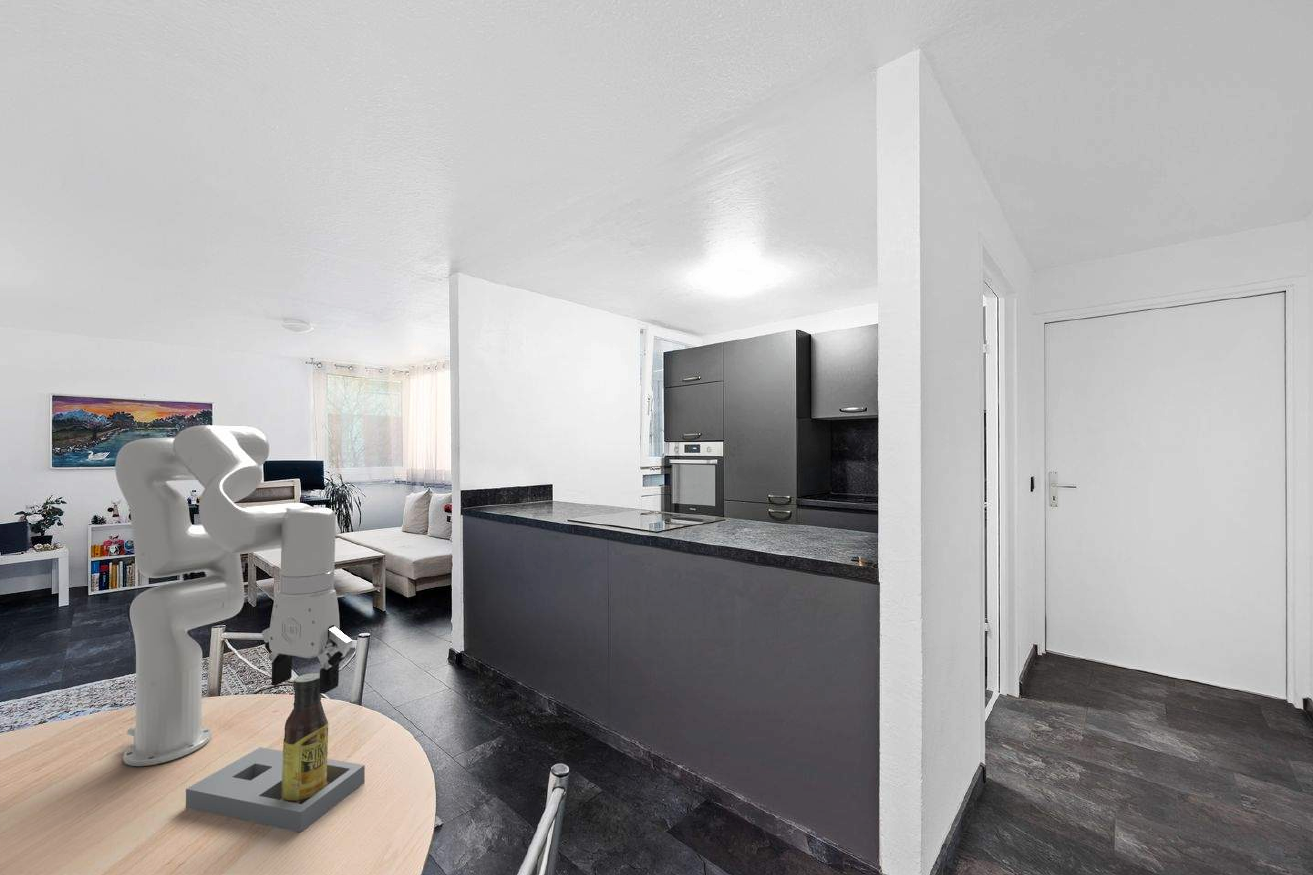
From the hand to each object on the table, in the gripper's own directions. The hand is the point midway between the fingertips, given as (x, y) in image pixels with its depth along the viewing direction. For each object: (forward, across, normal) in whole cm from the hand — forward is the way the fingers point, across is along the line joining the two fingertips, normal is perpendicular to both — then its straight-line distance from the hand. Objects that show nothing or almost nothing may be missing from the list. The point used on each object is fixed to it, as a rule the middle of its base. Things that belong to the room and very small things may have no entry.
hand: (304, 686), depth 89 cm
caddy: (+19, -5, 0) cm, 19 cm away
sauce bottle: (+19, +1, 0) cm, 19 cm away
